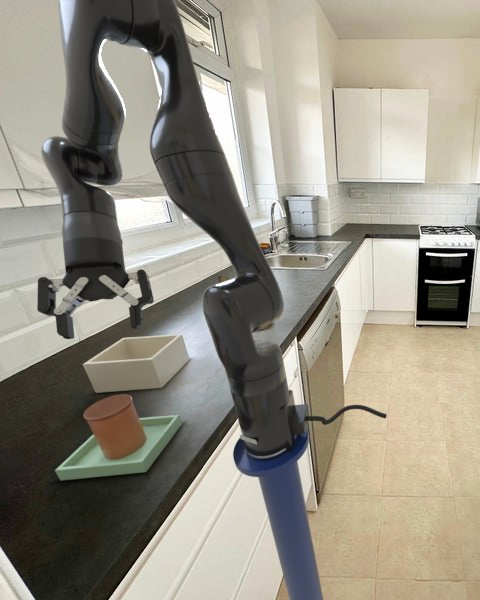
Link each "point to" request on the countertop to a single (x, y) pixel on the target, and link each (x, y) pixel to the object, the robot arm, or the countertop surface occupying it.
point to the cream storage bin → (137, 363)
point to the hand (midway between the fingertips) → (103, 333)
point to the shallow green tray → (94, 464)
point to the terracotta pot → (116, 426)
